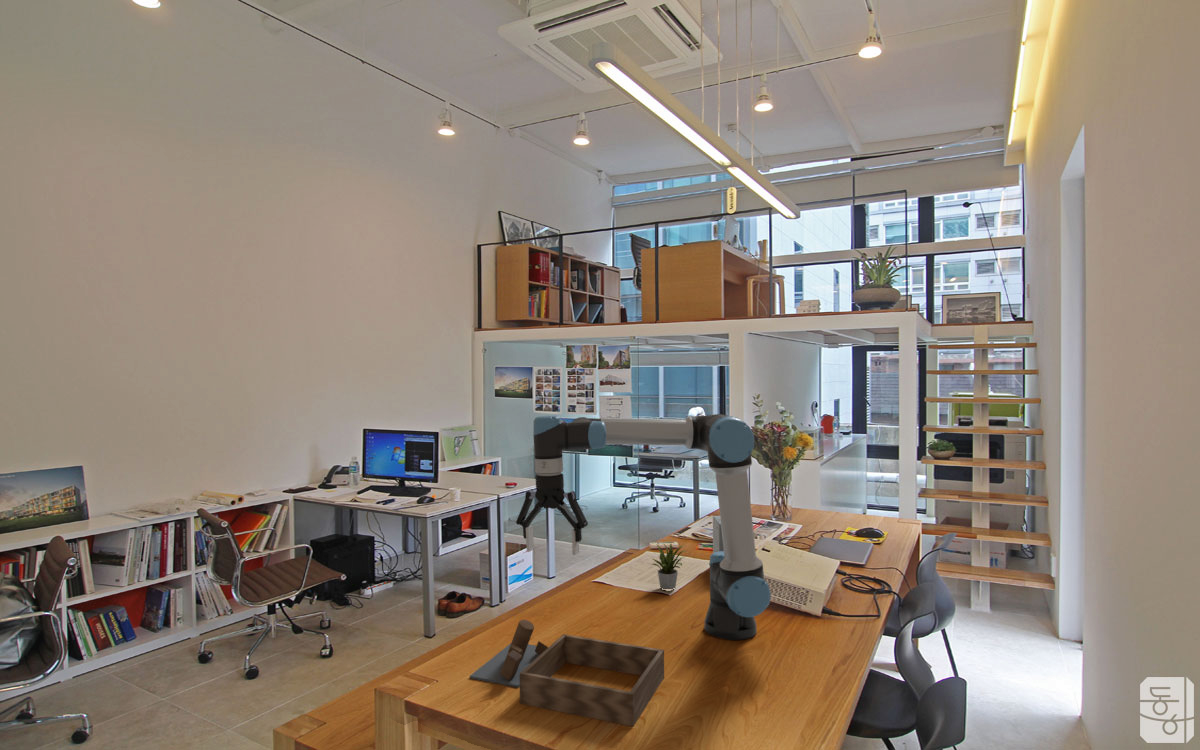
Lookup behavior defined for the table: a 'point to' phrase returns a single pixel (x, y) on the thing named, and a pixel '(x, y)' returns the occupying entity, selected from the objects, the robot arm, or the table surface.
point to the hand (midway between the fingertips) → (552, 552)
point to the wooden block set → (519, 649)
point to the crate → (587, 697)
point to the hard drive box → (717, 535)
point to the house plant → (668, 567)
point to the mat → (494, 666)
